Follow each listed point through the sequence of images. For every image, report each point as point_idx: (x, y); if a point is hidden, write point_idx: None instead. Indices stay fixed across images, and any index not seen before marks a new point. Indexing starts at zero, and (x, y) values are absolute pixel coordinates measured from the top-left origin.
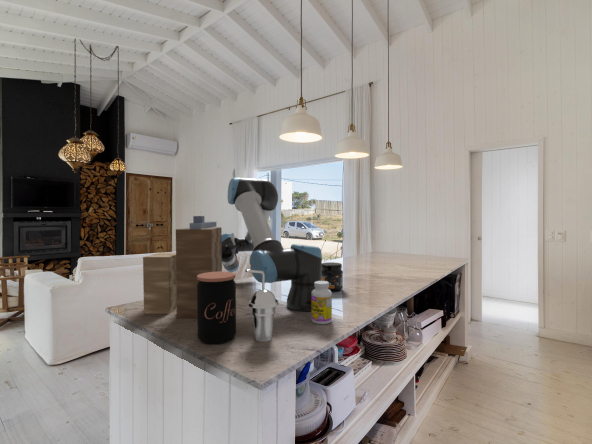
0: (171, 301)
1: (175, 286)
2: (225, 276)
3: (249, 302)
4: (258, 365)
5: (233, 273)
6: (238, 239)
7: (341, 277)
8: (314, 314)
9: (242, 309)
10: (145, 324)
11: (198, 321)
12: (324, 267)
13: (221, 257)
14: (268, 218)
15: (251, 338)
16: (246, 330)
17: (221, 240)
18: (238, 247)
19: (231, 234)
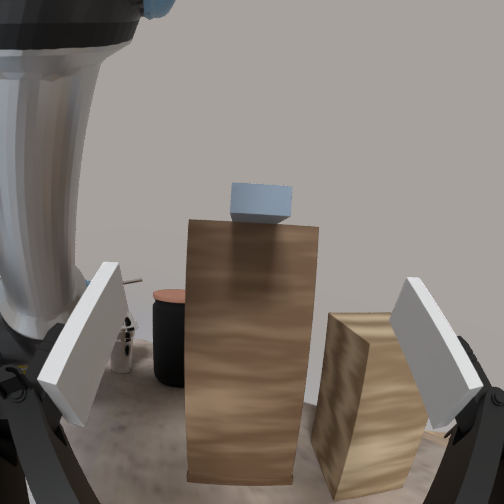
0: (317, 429)
1: (330, 415)
2: (167, 290)
3: (136, 324)
4: (139, 347)
5: (155, 293)
6: (7, 374)
7: None
8: None
9: (130, 451)
10: (315, 407)
11: None
12: None
13: (185, 339)
14: None
15: (135, 371)
16: (137, 385)
17: (186, 273)
18: (24, 483)
19: (120, 275)
